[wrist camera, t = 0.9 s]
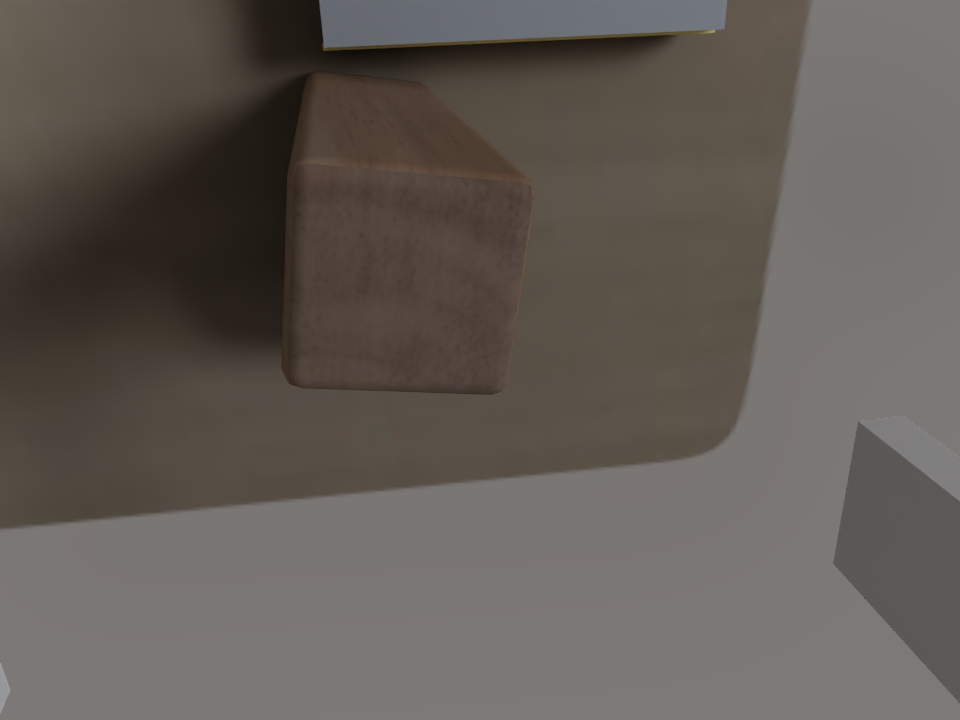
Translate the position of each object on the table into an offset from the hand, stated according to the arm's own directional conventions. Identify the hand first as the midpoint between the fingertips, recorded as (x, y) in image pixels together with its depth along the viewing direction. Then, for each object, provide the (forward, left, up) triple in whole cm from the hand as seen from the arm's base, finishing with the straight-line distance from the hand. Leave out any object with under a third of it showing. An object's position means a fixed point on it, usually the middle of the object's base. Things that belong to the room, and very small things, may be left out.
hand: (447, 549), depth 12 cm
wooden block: (0, 0, -23) cm, 23 cm away
